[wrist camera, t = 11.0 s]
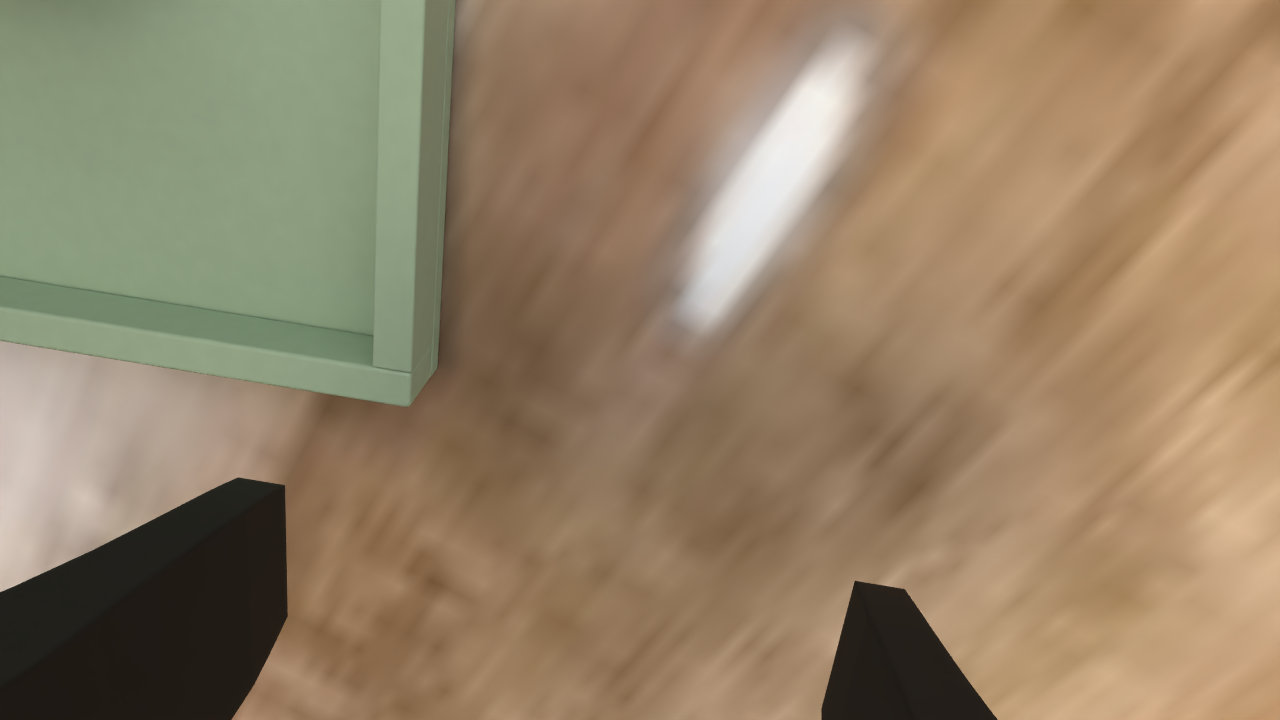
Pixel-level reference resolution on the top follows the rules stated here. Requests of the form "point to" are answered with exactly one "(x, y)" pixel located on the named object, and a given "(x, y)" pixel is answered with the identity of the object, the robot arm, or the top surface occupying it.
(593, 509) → the top surface
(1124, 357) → the top surface
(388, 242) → the tray
